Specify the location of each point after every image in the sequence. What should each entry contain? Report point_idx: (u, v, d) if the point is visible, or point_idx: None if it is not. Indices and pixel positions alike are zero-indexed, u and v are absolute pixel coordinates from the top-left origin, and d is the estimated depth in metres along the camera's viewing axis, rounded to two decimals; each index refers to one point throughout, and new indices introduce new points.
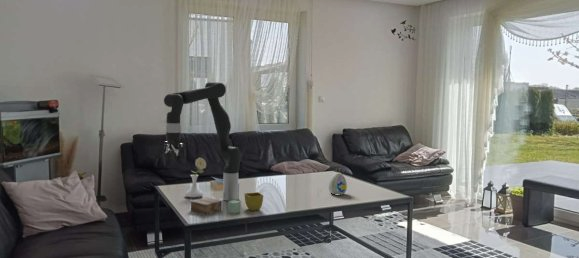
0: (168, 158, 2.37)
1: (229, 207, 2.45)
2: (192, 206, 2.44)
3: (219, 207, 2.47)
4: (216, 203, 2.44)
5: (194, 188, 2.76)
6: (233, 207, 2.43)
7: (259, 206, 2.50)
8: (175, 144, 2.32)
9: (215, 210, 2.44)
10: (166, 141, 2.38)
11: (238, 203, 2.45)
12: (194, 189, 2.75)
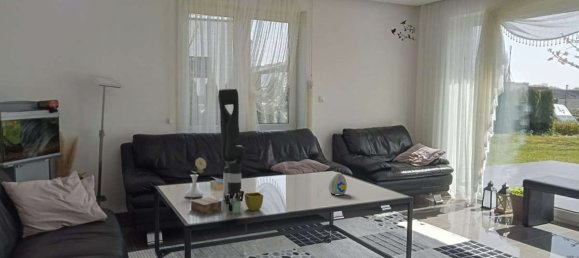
0: None
1: None
2: (192, 206, 2.45)
3: (219, 207, 2.46)
4: (215, 203, 2.44)
5: (194, 188, 2.76)
6: (233, 207, 2.43)
7: (259, 206, 2.50)
8: (239, 192, 2.47)
9: (214, 210, 2.44)
10: (227, 194, 2.41)
11: (238, 203, 2.45)
12: (194, 189, 2.75)
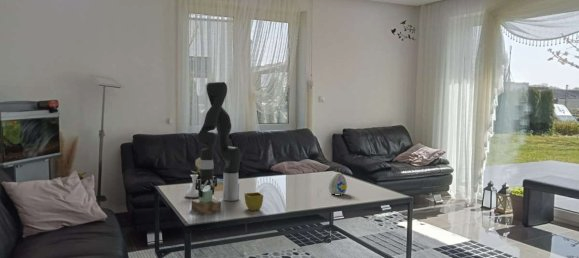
0: None
1: None
2: (192, 205, 2.46)
3: (218, 208, 2.45)
4: (215, 204, 2.43)
5: (194, 188, 2.76)
6: (204, 196, 2.43)
7: (259, 206, 2.50)
8: (211, 178, 2.47)
9: (213, 211, 2.43)
10: (198, 179, 2.40)
11: (210, 192, 2.45)
12: (194, 189, 2.75)
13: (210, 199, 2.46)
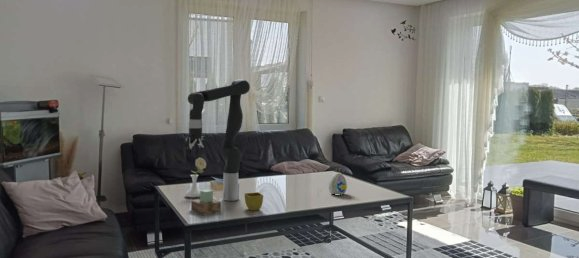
0: None
1: (201, 196, 2.45)
2: (192, 205, 2.46)
3: (218, 208, 2.45)
4: (214, 204, 2.43)
5: (194, 188, 2.76)
6: (205, 196, 2.43)
7: (259, 206, 2.50)
8: (200, 138, 2.56)
9: (213, 211, 2.43)
10: None
11: (210, 192, 2.45)
12: (194, 189, 2.75)
13: (210, 199, 2.45)
